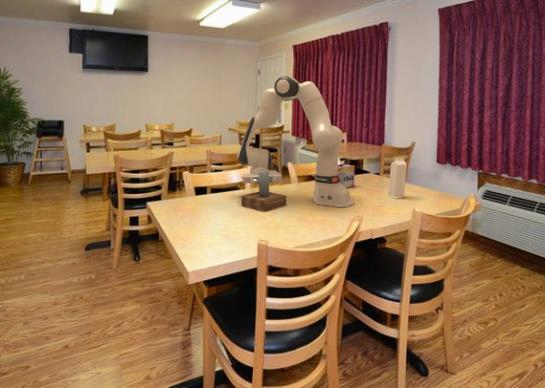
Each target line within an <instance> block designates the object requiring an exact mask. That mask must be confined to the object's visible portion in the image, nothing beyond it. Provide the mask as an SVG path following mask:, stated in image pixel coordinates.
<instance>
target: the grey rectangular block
mask: <svg viewBox="0 0 545 388" xmlns="http://www.w3.org/2000/svg"><path fill="white" fill-rule="evenodd" d="M258 192H259V196H260V197H268V196H269V192H270V183H269V172H266V171H262V172H259V185H258Z"/></svg>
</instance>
